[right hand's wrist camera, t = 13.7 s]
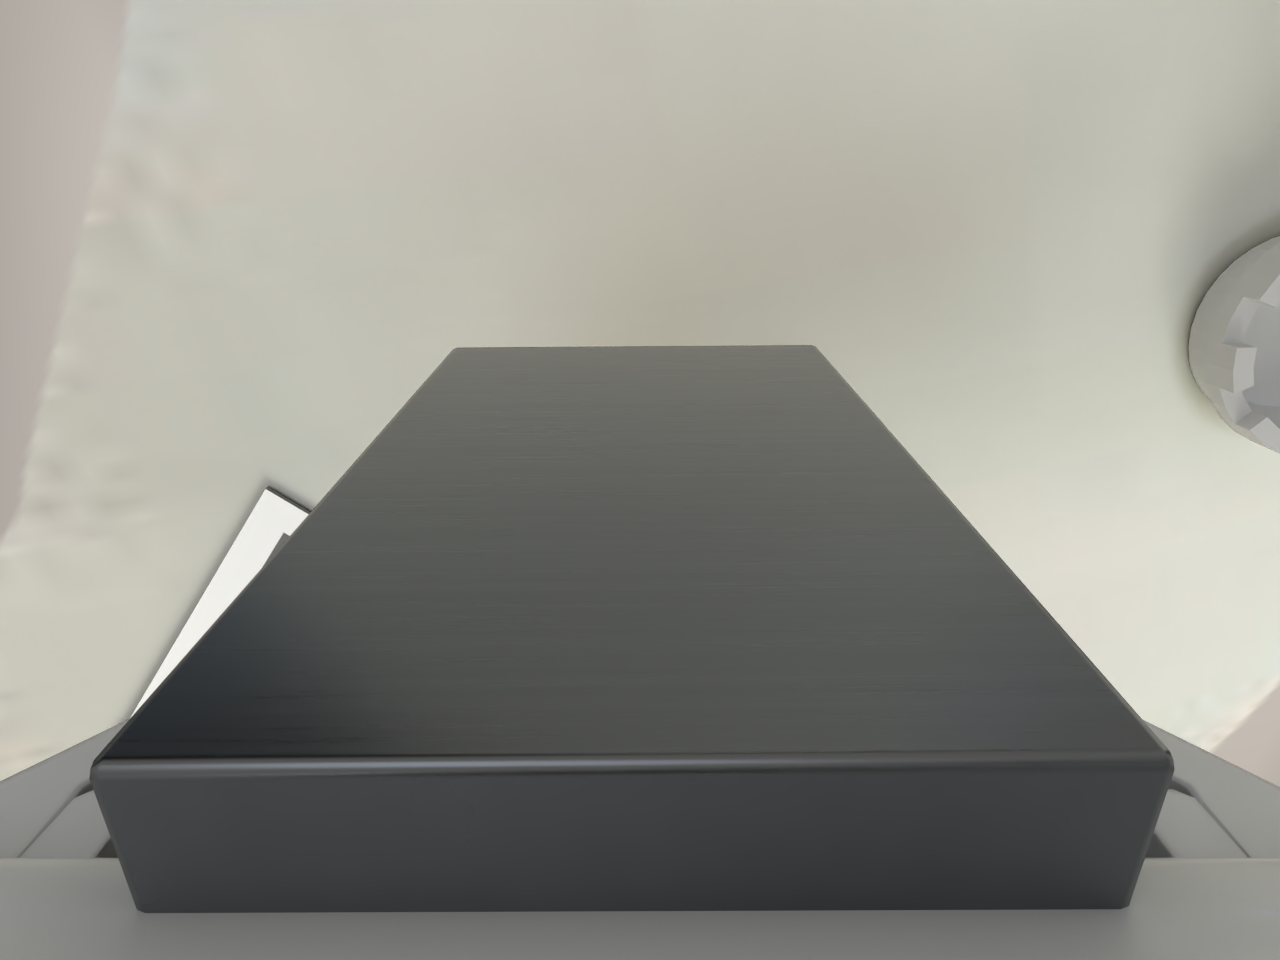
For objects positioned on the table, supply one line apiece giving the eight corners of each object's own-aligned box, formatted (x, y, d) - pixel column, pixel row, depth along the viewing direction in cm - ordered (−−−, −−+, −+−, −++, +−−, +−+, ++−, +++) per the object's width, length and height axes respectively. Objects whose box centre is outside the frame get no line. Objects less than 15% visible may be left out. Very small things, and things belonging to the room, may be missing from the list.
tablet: (319, 916, 64) (317, 920, 64) (78, 803, 60) (74, 807, 59) (533, 643, 55) (533, 646, 54) (266, 485, 50) (263, 487, 50)
